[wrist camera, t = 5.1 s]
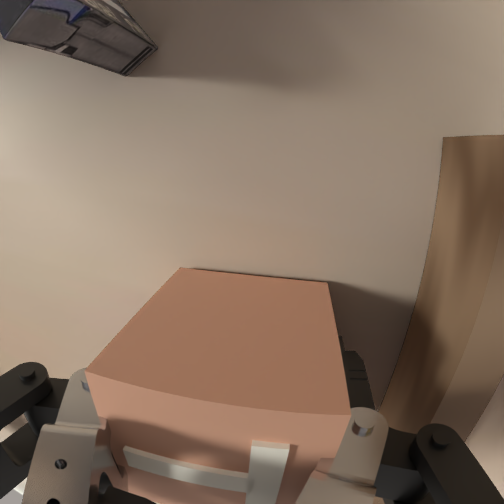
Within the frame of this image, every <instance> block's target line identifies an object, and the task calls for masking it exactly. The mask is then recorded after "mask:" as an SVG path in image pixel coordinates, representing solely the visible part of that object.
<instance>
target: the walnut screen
mask: <svg viewBox="0 0 504 504" xmlns="http://www.w3.org/2000/svg"><path fill="white" fill-rule="evenodd" d="M503 374H504V135H482V136H460V137H443V148H442V160H441V170H440V179H439V187H438V195H437V202H436V208H435V215H434V221H433V227H432V232H431V238H430V243H429V248H428V253H427V258H426V262H425V267H424V271H423V276H422V280H421V284H420V288H419V292H418V296H417V300H416V303H415V307H414V311H413V314H412V318H411V321H410V324H409V328H408V331H407V334H406V338H405V341H404V344H403V347H402V350H401V353H400V356H399V359H398V362H397V365H396V367H395V370H394V373H393V376H392V378H391V381H390V384H389V386H388V389H387V392H386V394H385V397H384V399H383V402H382V404H381V407H380V409H379V411H378V412H379V413H380V414H381V415H383V416H384V418H385V419H386V420H387V422H388V426H389V427H391V428H393V429H395V430H399V431H403V432H408V433H413V434H417V433H418V431H419V430H420V429H421V428H422V427H424V426H425V425H428V424H432V423H439V424H444V425H447V426H449V427H451V428H452V429H454V430H455V431H456V432H457V433H458V435H459V436H460V437H461V439H462V440H463V441H464V442H465V440H466V439H467V437H468V436H469V434H470V433H471V431H472V430H473V428H474V426H475V425H476V423H477V422H478V420H479V418H480V417H481V415H482V413H483V412H484V410H485V408H486V406H487V405H488V403H489V401H490V399H491V397H492V396H493V394H494V392H495V390H496V388H497V386H498V384H499V382H500V380H501V378H502V376H503ZM373 504H385V503H384V501H383V498H380V497H374V500H373Z"/></svg>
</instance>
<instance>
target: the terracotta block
mask: <svg viewBox="0 0 504 504" xmlns="http://www.w3.org/2000/svg"><path fill="white" fill-rule="evenodd" d="M84 372H85V375H86V379H87V382H88V386H89V389H90V392H91V396H92V399H93V402H94V405H95V408H96V411H97V414H98V416H100V417H103V418H106V419H107V420H108V424H109V426H110V429H111V438H110V447H111V452H112V454H113V457H114V459H115V461H116V464H118V465H121V466H124V467H125V469H126V472H127V474H128V490H129V492H130V493H132V494H135V495H138V496H141V497H145V498H147V499H149V500H151V501H153V502H157V503H160V504H295V503H296V501H297V499H298V497H299V496H300V494H301V492H302V490H303V488H304V486H305V484H306V483H307V481H308V479H309V477H310V475H311V473H312V472H313V470H315V468H316V466H317V464H318V462H319V460H320V458H335V456H336V454H337V451H338V449H339V446H340V444H341V441H342V439H343V436H344V434H345V431H346V428H347V426H348V423H349V420H350V418H351V410H350V403H349V396H348V390H347V384H346V378H345V372H344V366H343V360H342V355H341V349H340V344H339V338H338V333H337V328H336V323H335V318H334V313H333V308H332V303H331V298H330V293H329V288H328V284H327V283H324V282H313V281H303V280H292V279H282V278H272V277H262V276H252V275H243V274H233V273H224V272H215V271H206V270H197V269H188V268H179V269H178V270H177V271H176V272H175V273H174V274H173V276H172V277H171V278H170V279H169V280H168V281H167V282H166V283H165V284H164V285H163V286H162V287H161V288H160V289H159V290H158V291H157V292H156V293H155V294H154V295H153V296H152V298H151V299H150V300H149V301H148V302H147V303H146V304H145V305H144V306H143V307H142V308H141V309H140V310H139V311H138V312H137V313H136V315H135V316H134V317H133V318H132V319H131V320H130V321H129V322H128V323H127V324H126V325H125V326H124V327H123V329H122V330H121V331H120V332H119V333H118V334H117V335H116V336H115V337H114V338H113V339H112V341H111V342H110V343H109V344H108V345H107V346H106V347H105V348H104V349H103V351H102V352H101V353H100V354H99V355H98V356H97V357H96V358H95V359H94V361H93V362H92V363H91V364H90V365H89V366H88V367H87V368H86V369H85V371H84Z"/></svg>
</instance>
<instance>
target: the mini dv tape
mask: <svg viewBox="0 0 504 504" xmlns="http://www.w3.org/2000/svg"><path fill="white" fill-rule="evenodd" d="M0 32H1V34H2V37H3V38H4V39H5V40H7V41H11V42H15V43H19V44H23V45H27V46H31V47H35V48H39V49H42V50H46V51H50V52H53V53H57V54H60V55H63V56H67V57H70V58H73V59H76V60H80V61H83V62H86V63H89V64H92V65H95V66H98V67H101V68H104V69H106V70H109V71H112V72H115V73H118V74H120V75H123V76H127V75H128V74H129V73H130V72H132V71H133V70H134V69H135V68H136V67H137V66H138V65H139V64H140V63H141V62H143V61H144V60H145V59H146V58H147V57H148V56H149V55H151V54H152V53H153V52H154V51H155V50H156V49H158V47H157V46H156V45H155V44H154V43H153V41H152V40H151V39H150V38H149V37H148V35H147V34H146V33H145V32H144V31H143V30H142V28H141V27H140V26H139V25H138V24H137V23H136V21H135V20H134V19H133V18H132V17H131V16H130V14H129V13H128V12H127V11H126V10H125V9H124V8H123V7H122V5H121V4H120V3H119V2H118V1H117V0H0Z"/></svg>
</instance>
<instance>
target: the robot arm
mask: <svg viewBox="0 0 504 504" xmlns="http://www.w3.org/2000/svg"><path fill="white" fill-rule="evenodd" d="M338 338H339V344H340V349H341V355H342V360H343V366H344V372H345V378H346V384H347V390H348V396H349V403H350V410H351V418H350V420H349V423H348V426H347V428H346V431H345V434H344V436H343V439H342V441H341V444H340V446H339V449H338V451H337V454H336V456H335V458H320V460H319V462H318V464H317V466H316V468H315V470H313V472H312V473H311V475H310V477H309V479H308V481H307V483H306V484H305V486H304V488H303V490H302V492H301V494H300V496H299V497H298V499H297V501H296V503H295V504H373V500H374V497H380V498H383V501H384V503H385V504H504V499H503V497H502V496H501V494H500V493H499V491H498V490H497V488H496V487H495V486H494V484H493V483H492V481H491V480H490V478H489V477H488V475H487V474H486V472H485V471H484V470H483V468H482V467H481V465H480V464H479V462H478V461H477V460H476V458H475V457H474V455H473V454H472V453H471V451H470V450H469V448H468V447H467V446H466V444H465V443H464V441H463V440H462V439H461V437H460V436H459V435H458V433H457V432H456V431H455V430H454V429H452V428H451V427H449V426H447V425H444V424H439V423H432V424H428V425H425V426H424V427H422V428H421V429H420V430H419V431H418V433H417V434H413V433H408V432H403V431H399V430H395V429H393V428H391V427H389V426H388V422H387V420H386V419H385V418H384V416H383V415H381V414H380V413H379V412H377V411H376V410H375V406H374V402H373V398H372V394H371V389H370V385H369V381H368V377H367V374H366V372H365V371H366V370H365V366H364V362H363V360H362V359H361V357H360V356H359V355H358V354H357V353H356V352H355V351H345V350H344V345H343V340H342V336H338ZM85 369H86V368H83V369H80V370H78V371H76V372H75V373H74V374H73V375H72V376H71V377H70V379H57V378H49V375H48V372H47V370H46V368H45V367H44V366H43V365H42V364H40V363H36V362H27V363H23V364H20V365H18V366H16V367H15V368H13V369H11V370H10V371H8V372H7V373H5V374H3V375H2V376H0V431H1V429H2V428H4V427H5V426H7V425H8V424H9V423H11V422H12V421H13V420H15V419H16V418H18V417H19V416H20V415H22V414H23V413H24V415H25V417H26V419H27V421H28V423H27V424H25V425H24V426H23V427H21V428H20V429H19V430H17V431H16V432H15V433H13V434H12V435H11V436H9V437H8V438H7V439H5V440H4V441H3V442H0V499H1V498H2V497H3V496H5V495H6V494H7V493H8V492H10V491H11V490H12V489H13V488H15V487H16V486H17V485H18V484H19V483H21V482H22V481H23V480H24V479H25V478H27V482H26V486H25V490H24V494H23V499H22V504H156V503H154V502H152V501H151V500H149V499H147V498H145V497H141V496H138V495H135V494H132V493H129V490H128V474H127V472H126V469H125V467H124V466H121V465H118V464H116V461H115V459H114V457H113V454H112V452H111V447H110V438H111V429H110V426H109V424H108V420H107V419H106V418H103V417H100V416H98V414H97V411H96V408H95V405H94V402H93V399H92V396H91V392H90V389H89V386H88V382H87V379H86V375H85V372H84V371H85Z"/></svg>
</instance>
